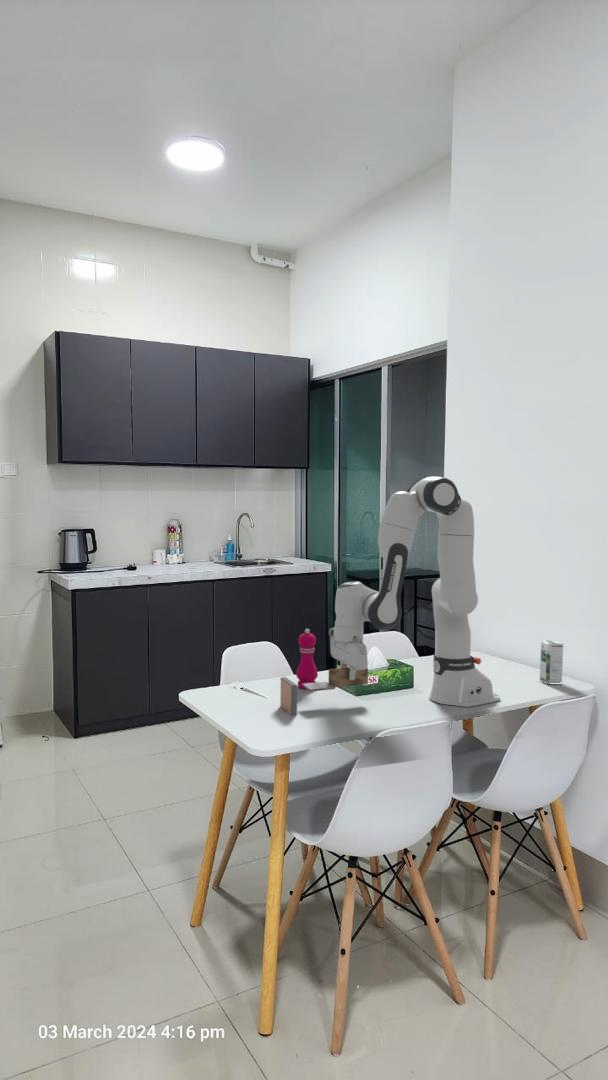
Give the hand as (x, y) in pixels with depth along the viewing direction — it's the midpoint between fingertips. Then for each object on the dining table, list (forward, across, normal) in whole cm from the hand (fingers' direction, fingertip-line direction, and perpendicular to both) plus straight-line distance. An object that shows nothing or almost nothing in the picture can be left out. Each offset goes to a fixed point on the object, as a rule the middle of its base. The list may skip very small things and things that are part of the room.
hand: (348, 677), depth 228 cm
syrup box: (+8, -1, -77) cm, 78 cm away
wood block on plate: (+2, 0, +4) cm, 5 cm away
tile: (+8, 0, +20) cm, 21 cm away
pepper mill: (+8, +23, +5) cm, 25 cm away
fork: (+9, +23, +24) cm, 35 cm away
